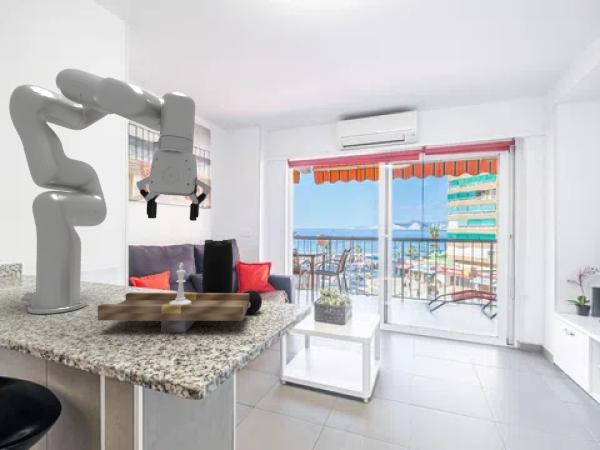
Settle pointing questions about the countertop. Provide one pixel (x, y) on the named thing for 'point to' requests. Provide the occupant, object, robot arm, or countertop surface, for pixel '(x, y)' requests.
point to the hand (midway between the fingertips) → (172, 219)
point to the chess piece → (180, 288)
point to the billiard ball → (254, 301)
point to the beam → (177, 309)
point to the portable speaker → (217, 267)
